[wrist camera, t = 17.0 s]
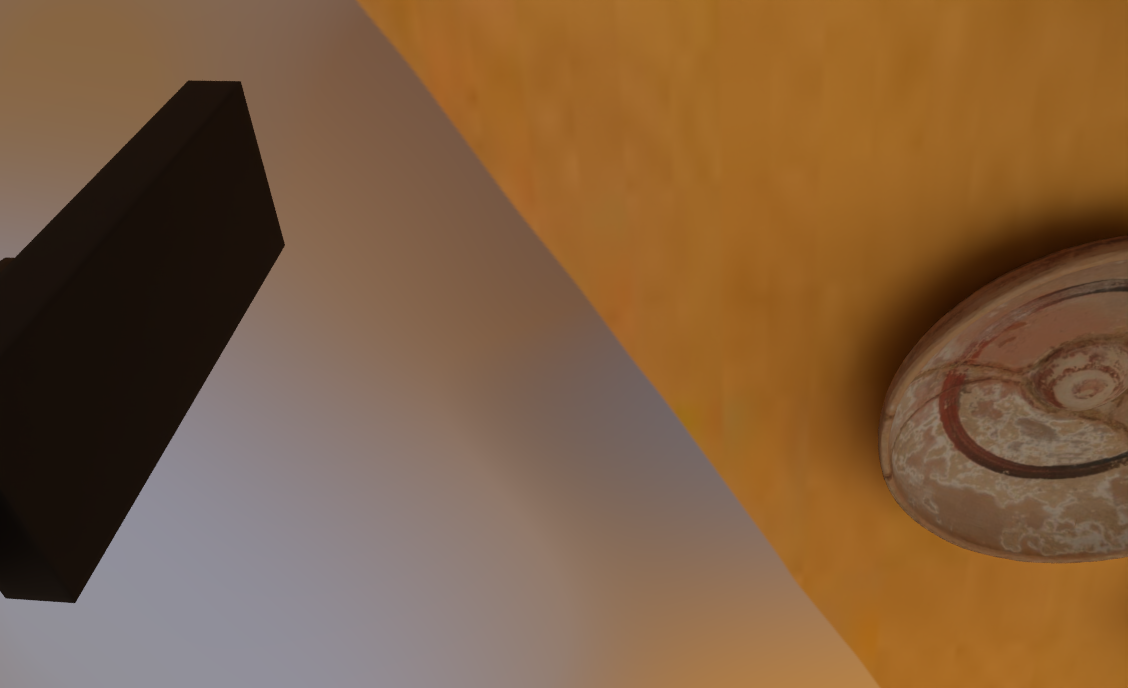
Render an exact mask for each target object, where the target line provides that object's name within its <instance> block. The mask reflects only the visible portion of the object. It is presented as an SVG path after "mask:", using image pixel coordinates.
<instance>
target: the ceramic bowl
mask: <svg viewBox="0 0 1128 688" xmlns="http://www.w3.org/2000/svg"><path fill="white" fill-rule="evenodd" d="M878 448H879V458H880V464H881V468H882V472H883V476H884V479H885V481H886V483H887V486H888V488H889V490H890V492H891V494H892V495H893V497H894V498H895V500H896V502H897V503H898V504H899V505H900V507H901V508H902V509H903V510H904V511H905V512H906V513H907V514H908V515H909V516H910V517H912V518H913V519H914V520H915V521H916V522H917V523H919V524H920V525H921V526H923V527H924V528H926V529H927V530H929V531H930V532H932V533H934V534H935V535H937V536H939V537H940V538H942V539H944V540H946V541H948V542H950V543H952V544H955V545H957V546H959V547H962V548H964V549H968V550H971V551H974V552H978V553H982V554H986V555H991V556H995V557H999V558H1005V559H1011V560H1016V561H1023V562H1038V563H1078V562H1092V561H1102V560H1110V559H1118V558H1123V557H1128V235H1125V236H1119V237H1113V238H1107V239H1101V240H1097V241H1093V242H1089V243H1085V244H1081V245H1077V246H1073V247H1069V248H1066V249H1063V250H1060V251H1057V252H1054V253H1052V254H1049V255H1046V256H1043V257H1041V258H1039V259H1036V260H1034V261H1031V262H1029V263H1026V264H1024V265H1022V266H1019V267H1017V268H1015V269H1013V270H1011V271H1009V272H1007V273H1006V274H1004V275H1002V276H1000V277H998V278H997V279H995V280H993V281H991V282H990V283H988V284H986V285H985V286H983V287H981V288H980V289H978V290H977V291H976V292H974V293H973V294H971V295H970V296H968V297H967V298H966V299H964V300H963V301H961V302H960V303H959V304H957V305H956V306H955V307H954V308H952V309H951V310H950V311H949V312H948V313H947V314H945V315H944V316H943V317H942V318H941V319H939V320H938V321H937V322H936V323H935V324H934V325H933V326H932V327H931V328H930V329H929V330H928V331H927V332H926V333H925V334H924V335H923V337H922V338H921V339H920V340H919V341H918V343H917V344H916V345H915V346H914V347H913V349H912V350H911V351H910V352H909V354H908V355H907V356H906V358H905V359H904V361H903V362H902V364H901V365H900V367H899V369H898V370H897V372H896V374H895V376H894V378H893V380H892V382H891V384H890V386H889V388H888V390H887V393H886V397H885V401H884V404H883V407H882V411H881V416H880V421H879V427H878Z"/></svg>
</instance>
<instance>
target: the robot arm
mask: <svg viewBox="0 0 1128 688" xmlns="http://www.w3.org/2000/svg"><path fill="white" fill-rule="evenodd" d="M284 246H285V244H284V240H283V236H282V233H281V229H280V226H279V222H278V218H277V214H276V211H275V207H274V203H273V199H272V196H271V192H270V188H269V185H268V181H267V178H266V173H265V170H264V166H263V162H262V159H261V155H260V151H259V148H258V144H257V140H256V136H255V133H254V129H253V125H252V122H251V118H250V114H249V111H248V107H247V103H246V99H245V96H244V92H243V88H242V85H241V82H240V81H188V82H186V84H185V85H184V86H183V87H182V88H181V89H180V90H179V91H178V92H177V93H176V94H175V95H174V96H173V97H172V98H171V99H170V100H169V101H168V102H167V103H166V104H165V105H164V106H163V107H162V108H161V109H160V110H159V111H158V112H157V113H156V114H155V115H154V116H153V117H152V118H151V119H150V120H149V121H148V122H147V123H146V124H145V125H144V126H143V128H142V129H141V130H140V131H139V132H138V133H137V134H136V135H135V136H134V137H133V138H132V139H131V140H130V141H129V142H128V143H127V144H126V145H125V146H124V147H123V148H122V149H121V150H120V151H119V152H118V153H117V154H116V155H115V156H114V157H113V158H112V159H111V160H110V161H109V162H108V163H107V164H106V165H105V166H104V167H103V168H102V169H101V170H100V172H99V173H97V174H96V176H95V177H94V178H93V179H92V180H91V181H90V182H89V183H88V184H87V185H86V186H85V187H84V188H83V189H82V190H81V191H80V192H79V193H78V194H77V195H76V196H75V197H74V198H73V199H72V200H71V201H70V202H69V203H68V204H67V205H66V206H65V207H64V208H63V209H62V210H61V211H60V212H59V213H58V214H57V215H56V217H54V218H53V220H51V221H50V223H49V224H48V225H47V226H46V227H45V228H44V229H43V230H42V231H41V232H40V233H39V234H38V235H37V236H36V237H35V238H34V239H33V240H32V241H31V242H30V243H29V244H28V245H27V246H26V247H25V248H24V249H23V250H22V251H21V252H20V253H19V254H18V255H17V256H16V257H15V258H4V259H3V260H1V261H0V591H1V593H2V594H3V595H4V597H5V598H9V599H10V598H11V599H24V600H25V599H26V600H38V601H53V602H68V603H75V602H76V601H77V599H78V597H79V596H80V594H81V592H82V590H83V588H84V587H85V585H86V583H87V582H88V580H89V578H90V577H91V575H92V573H93V572H94V570H95V568H96V566H97V565H98V563H99V561H100V560H101V558H102V556H103V555H104V553H105V551H106V549H107V548H108V546H109V544H110V543H111V541H112V539H113V538H114V536H115V534H116V532H117V531H118V529H119V527H120V526H121V524H122V522H123V520H124V519H125V517H126V515H127V514H128V512H129V510H130V509H131V507H132V505H133V503H134V502H135V500H136V498H137V497H138V495H139V493H140V491H141V490H142V488H143V486H144V485H145V483H146V481H147V479H148V478H149V476H150V474H151V473H152V471H153V469H154V468H155V466H156V464H157V462H158V461H159V459H160V457H161V456H162V454H163V452H164V451H165V449H166V447H167V445H168V444H169V442H170V440H171V439H172V437H173V435H174V434H175V432H176V430H177V428H178V427H179V425H180V423H181V422H182V420H183V418H184V416H185V415H186V413H187V411H188V410H189V408H190V406H191V404H192V403H193V401H194V399H195V398H196V396H197V394H198V392H199V391H200V389H201V388H202V386H203V384H204V382H205V381H206V379H207V377H208V375H209V374H210V372H211V370H212V369H213V367H214V365H215V364H216V362H217V360H218V359H219V357H220V355H221V353H222V351H223V350H224V348H225V347H226V345H227V343H228V341H229V340H230V338H231V336H232V335H233V333H234V331H235V330H236V328H237V326H238V324H239V323H240V321H241V319H242V318H243V316H244V314H245V313H246V311H247V309H248V307H249V306H250V304H251V302H252V301H253V299H254V297H255V295H256V294H257V292H258V290H259V289H260V287H261V285H262V284H263V282H264V280H265V278H266V277H267V275H268V273H269V271H270V270H271V268H272V266H273V265H274V263H275V261H276V260H277V258H278V256H279V255H280V253H281V251H282V249H283V248H284Z"/></svg>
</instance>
